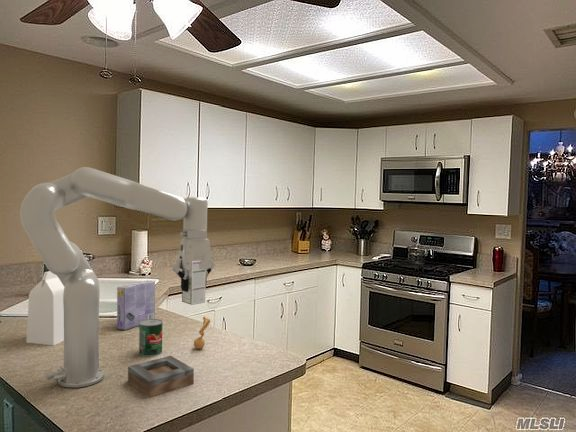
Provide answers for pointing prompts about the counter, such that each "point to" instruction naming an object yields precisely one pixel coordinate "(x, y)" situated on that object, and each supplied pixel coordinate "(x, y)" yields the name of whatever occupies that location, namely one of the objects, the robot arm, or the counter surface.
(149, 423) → the counter surface
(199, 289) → the syrup box
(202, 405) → the counter surface
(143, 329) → the canned tomato
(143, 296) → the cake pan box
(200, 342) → the figurine
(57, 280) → the milk
